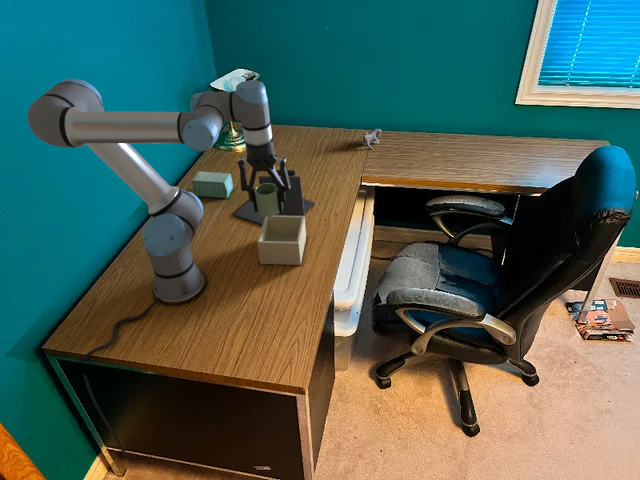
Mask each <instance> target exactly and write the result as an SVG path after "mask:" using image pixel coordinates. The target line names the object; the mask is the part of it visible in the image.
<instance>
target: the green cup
mask: <svg viewBox="0 0 640 480" xmlns="http://www.w3.org/2000/svg"><path fill="white" fill-rule="evenodd" d="M253 189H254V192H255V198H256V204H257V210H258V213H259V214H260V215H261V216H264V217H271V216H275V215H277V214H278V213H279V212H280V211H279V204H278V197H277V193H278V189H277V187H276V185H275V184H273V183H264V184H258V185H256V187H254V188H253Z"/></svg>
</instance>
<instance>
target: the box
mask: <svg viewBox="0 0 640 480" xmlns="http://www.w3.org/2000/svg"><path fill="white" fill-rule="evenodd" d="M191 181H192V186H193V191H194V195H196V196H197V197H203V198H204V197H205V198H218V199H228V198H229V196H230V194H231V193H232V191H233V189H234V184H233V178H232V174H231V173H227V172H212V171H200V170H199V171H198V172H197V173H196V175H195V176H194V177H193V178H192V179H191Z"/></svg>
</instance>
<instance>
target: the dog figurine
mask: <svg viewBox="0 0 640 480" xmlns="http://www.w3.org/2000/svg"><path fill="white" fill-rule="evenodd" d="M381 134H382V130H381V129H380V128H375V129H373V130H371V131H370V132H368V131H366V132H365V133H364V134H363V136H362V142H363V143H362V146H366V147H368V149H371V150H373V147H372V146H371V145H370V142H371V143H372V144H374V145H378V144H380V140H379V138H380V137H381Z"/></svg>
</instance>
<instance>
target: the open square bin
mask: <svg viewBox="0 0 640 480" xmlns="http://www.w3.org/2000/svg"><path fill="white" fill-rule="evenodd" d="M306 241H307V229H306V216H305V215H304V216H271V217H265V219H264V223H263V225H262V226H261V229H260V231H259V235H258V239H257V241H256V245H257V250H258V256H259V262H260V265H284V266H285V265H289V266H291V265H292V266H301V265H302V262H303V261H302V260H303V255H304V251H305V245H306Z"/></svg>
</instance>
